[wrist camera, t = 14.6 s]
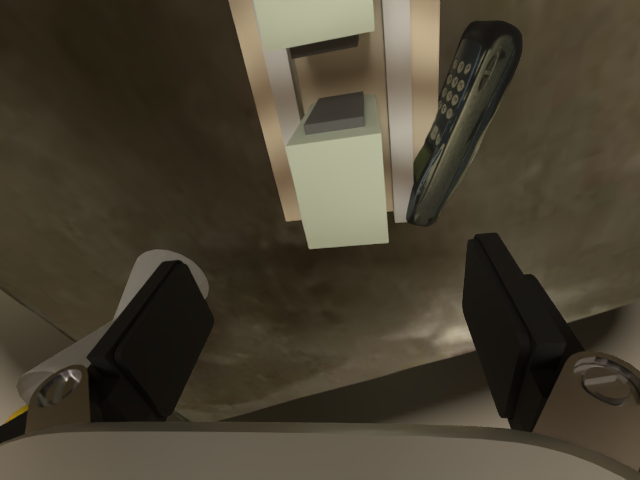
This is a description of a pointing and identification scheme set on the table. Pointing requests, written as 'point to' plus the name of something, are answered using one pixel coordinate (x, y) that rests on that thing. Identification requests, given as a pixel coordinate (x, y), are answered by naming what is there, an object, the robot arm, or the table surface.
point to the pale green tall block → (340, 172)
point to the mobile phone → (463, 115)
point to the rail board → (343, 75)
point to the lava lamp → (84, 346)
